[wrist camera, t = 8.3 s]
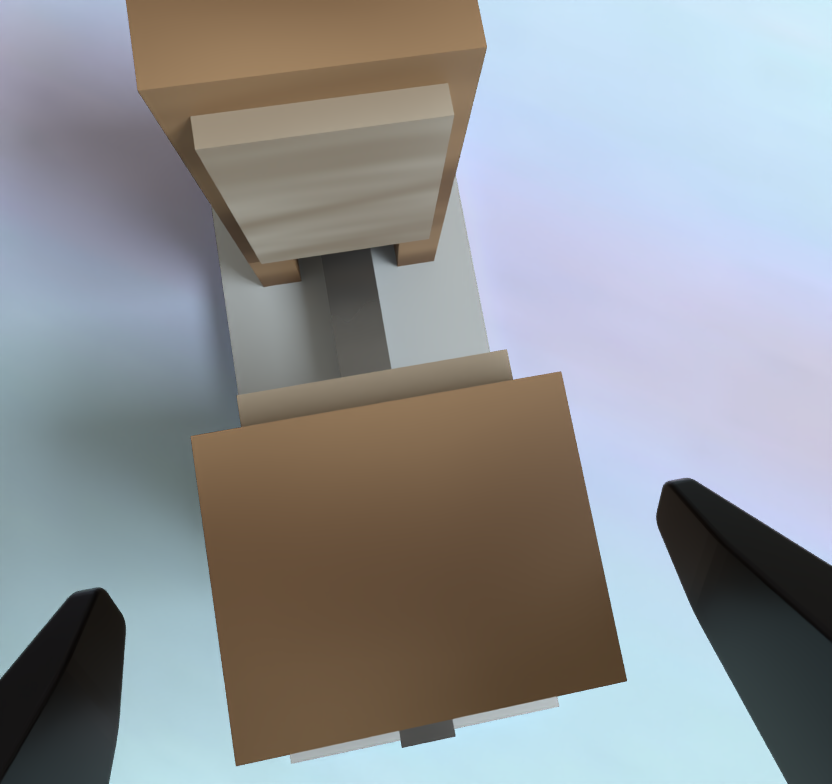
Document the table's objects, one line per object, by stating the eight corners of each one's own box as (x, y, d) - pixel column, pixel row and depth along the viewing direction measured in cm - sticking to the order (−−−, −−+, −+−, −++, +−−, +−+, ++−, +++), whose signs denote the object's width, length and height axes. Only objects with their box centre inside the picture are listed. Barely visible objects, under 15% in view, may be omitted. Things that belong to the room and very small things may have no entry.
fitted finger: (437, 278, 20) (494, 81, 10) (266, 305, 19) (141, 127, 9) (409, 132, 20) (437, -196, 10) (243, 154, 20) (104, -165, 10)
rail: (450, 718, 18) (455, 736, 17) (400, 729, 18) (402, 748, 17) (344, 110, 20) (342, 88, 19) (300, 116, 20) (294, 94, 19)
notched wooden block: (495, 568, 18) (626, 681, 9) (316, 604, 18) (236, 765, 8) (463, 404, 19) (552, 332, 9) (289, 435, 19) (185, 394, 9)
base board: (551, 696, 19) (558, 706, 18) (295, 751, 18) (291, 763, 17) (436, 104, 21) (439, 89, 20) (206, 134, 21) (199, 121, 20)
